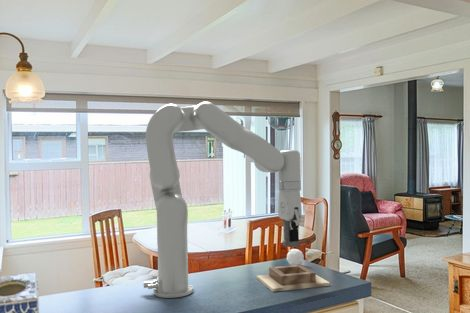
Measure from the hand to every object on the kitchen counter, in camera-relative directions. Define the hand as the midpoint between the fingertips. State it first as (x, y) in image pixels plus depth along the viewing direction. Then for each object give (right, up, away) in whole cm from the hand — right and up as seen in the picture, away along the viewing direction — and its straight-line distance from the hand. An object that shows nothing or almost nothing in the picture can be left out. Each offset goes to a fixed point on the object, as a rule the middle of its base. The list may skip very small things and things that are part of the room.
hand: (291, 239), depth 146 cm
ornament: (+5, -15, +22) cm, 27 cm away
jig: (0, -14, 0) cm, 14 cm away
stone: (0, -3, 0) cm, 3 cm away
